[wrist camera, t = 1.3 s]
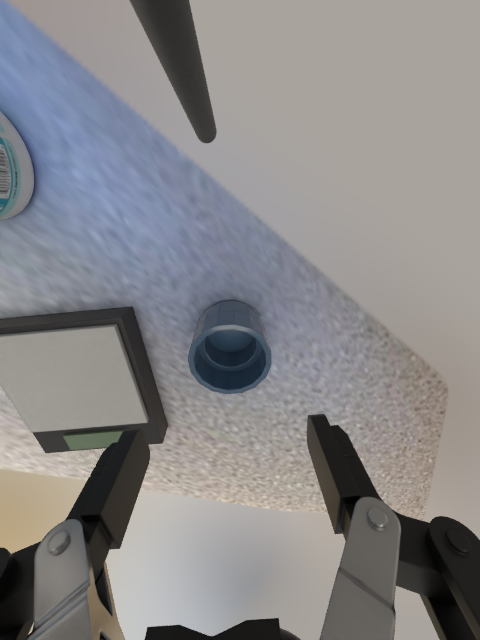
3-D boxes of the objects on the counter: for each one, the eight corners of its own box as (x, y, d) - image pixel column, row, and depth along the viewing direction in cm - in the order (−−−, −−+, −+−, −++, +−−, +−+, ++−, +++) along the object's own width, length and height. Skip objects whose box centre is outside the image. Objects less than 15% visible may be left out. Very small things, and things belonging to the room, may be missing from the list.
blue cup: (192, 301, 20) (181, 328, 16) (261, 295, 20) (269, 320, 16) (203, 359, 23) (195, 397, 18) (264, 353, 22) (272, 390, 18)
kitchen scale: (-7, 319, 20) (-40, 334, 18) (132, 306, 20) (118, 319, 18) (59, 434, 26) (41, 458, 24) (168, 425, 26) (161, 448, 24)
